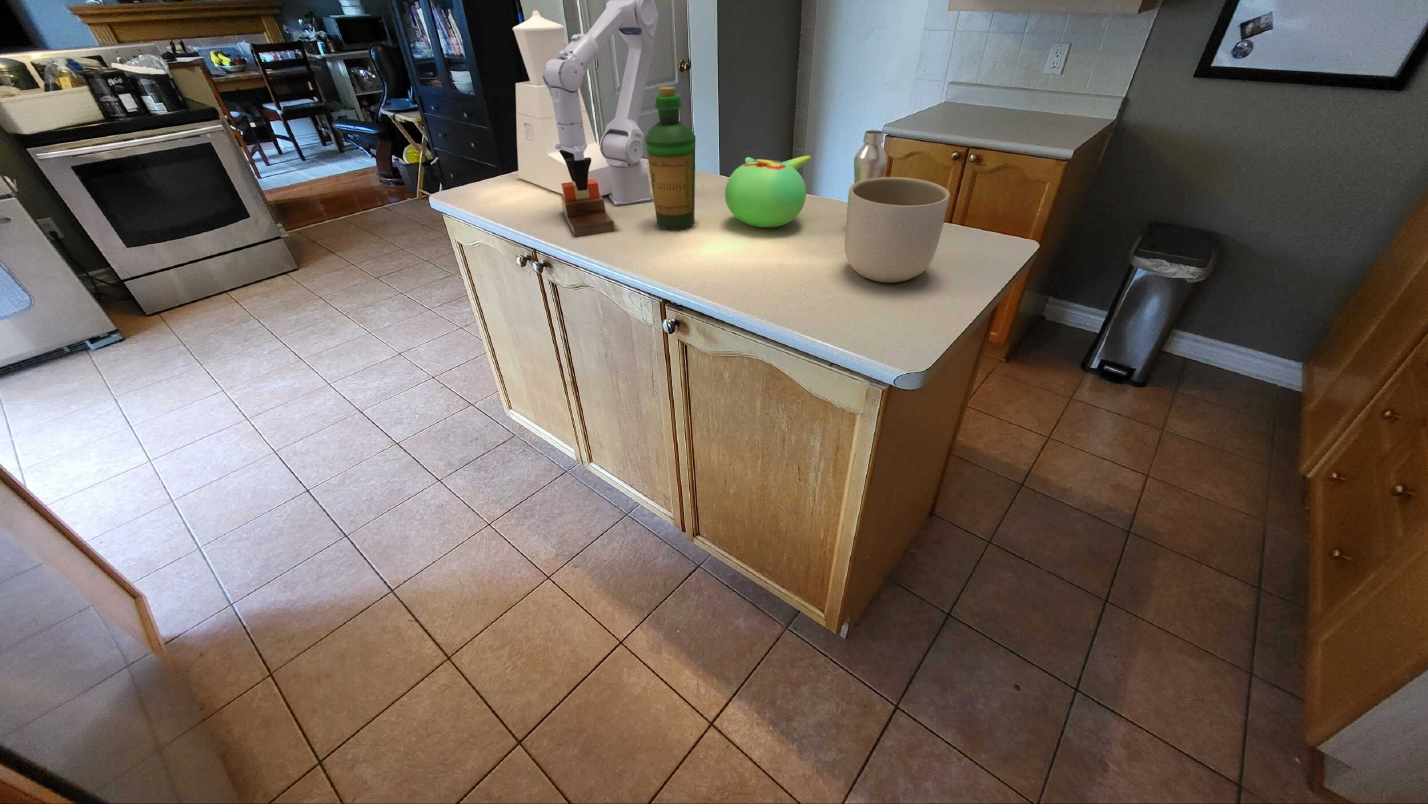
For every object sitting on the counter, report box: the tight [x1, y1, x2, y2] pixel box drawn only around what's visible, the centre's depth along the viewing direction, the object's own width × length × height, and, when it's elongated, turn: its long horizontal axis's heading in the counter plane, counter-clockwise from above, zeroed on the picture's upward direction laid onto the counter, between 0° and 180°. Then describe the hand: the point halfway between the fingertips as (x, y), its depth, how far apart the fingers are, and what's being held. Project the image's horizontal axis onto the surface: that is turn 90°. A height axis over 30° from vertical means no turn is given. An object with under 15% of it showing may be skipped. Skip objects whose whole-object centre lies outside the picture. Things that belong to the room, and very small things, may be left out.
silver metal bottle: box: [853, 129, 888, 184], centre depth 120 cm, size 6×7×20 cm
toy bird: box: [724, 155, 812, 228], centre depth 126 cm, size 18×17×15 cm
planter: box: [844, 176, 951, 284], centre depth 104 cm, size 17×17×15 cm
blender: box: [512, 9, 612, 197], centre depth 147 cm, size 33×18×40 cm, turn 44°
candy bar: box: [561, 179, 600, 201], centre depth 134 cm, size 8×4×3 cm, turn 110°
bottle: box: [644, 86, 696, 231], centre depth 123 cm, size 11×11×28 cm
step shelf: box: [559, 193, 615, 237], centre depth 133 cm, size 9×17×4 cm, turn 20°
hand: (579, 185), depth 133 cm, fingers open, 7 cm apart
